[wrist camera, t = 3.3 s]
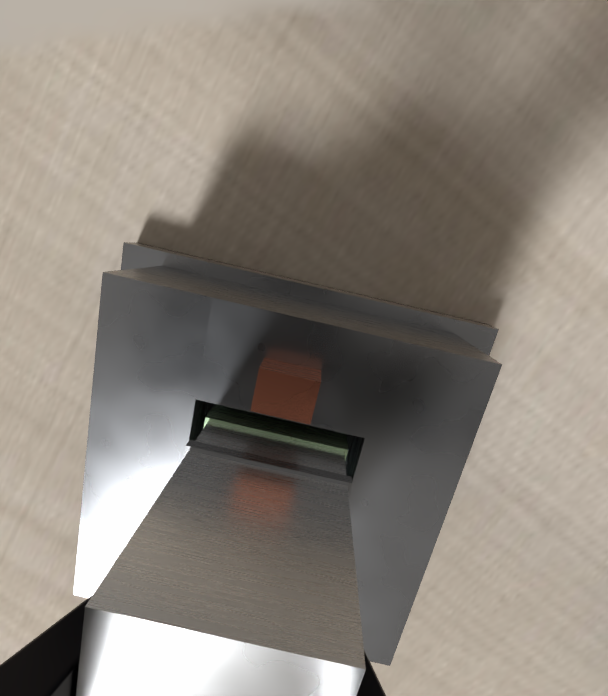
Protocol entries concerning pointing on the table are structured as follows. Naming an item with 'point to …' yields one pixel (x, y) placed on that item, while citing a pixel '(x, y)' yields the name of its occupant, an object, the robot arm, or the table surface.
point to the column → (235, 573)
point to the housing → (283, 406)
